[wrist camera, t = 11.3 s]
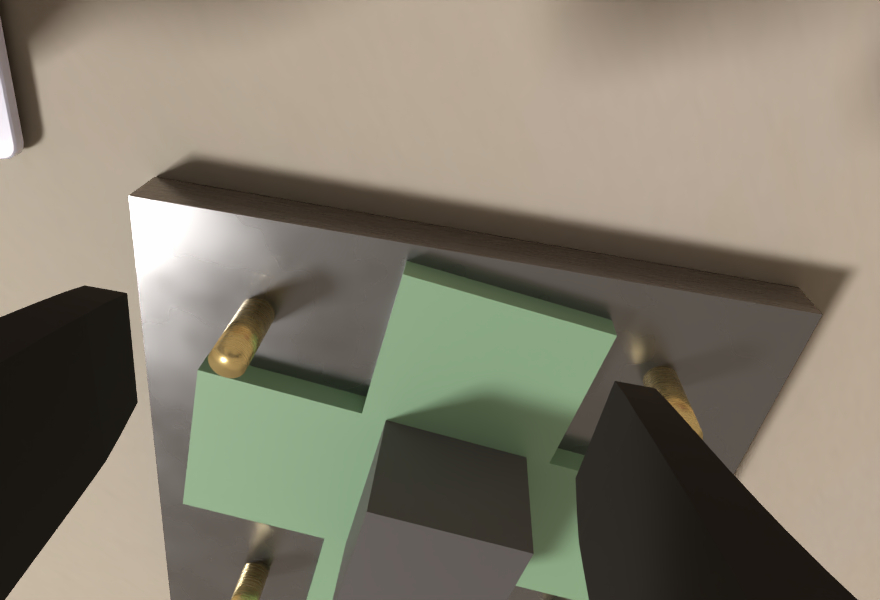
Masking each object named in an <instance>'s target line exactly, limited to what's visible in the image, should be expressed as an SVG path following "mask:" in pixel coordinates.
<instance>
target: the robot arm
mask: <svg viewBox="0 0 880 600" xmlns="http://www.w3.org/2000/svg"><path fill="white" fill-rule="evenodd" d="M23 145H24V141H23V136H22V130H21V125H20V120H19V114H18V109H17V104H16V98H15V93H14V88H13V82H12V77H11V72H10V66H9V61H8V56H7V50H6V45H5V39H4V34H3V29H2V23H1V18H0V159H9V158H12V157H14V156H16V155H18V154H19V153H21V151H22V150H23ZM136 404H137V391H136V381H135V370H134V360H133V350H132V339H131V329H130V319H129V308H128V298H127V293H123V292H118V291H112V290H107V289H101V288H95V287H90V286H82V287H79V288H76V289H72V290H69V291H66V292H64V293H61V294H58V295H55V296H53V297H50V298H48V299H45V300H42V301H40V302H37V303H35V304H32V305H30V306H27V307H25V308H22V309H20V310H17V311H15V312H12V313H10V314H7V315H5V316H2V317H0V600H5V599H6V597H7V596H8V595H9V593H10V592H11V591H12V589H13V588H14V587H15V585H16V584H17V582H18V581H19V580H20V578H21V577H22V576H23V574H24V573H25V572H26V570H27V569H28V568H29V566H30V565H31V563H32V562H33V561H34V559H35V558H36V557H37V555H38V554H39V553H40V551H41V550H42V548H43V547H44V546H45V544H46V543H47V542H48V540H49V539H50V538H51V536H52V535H53V534H54V532H55V531H56V529H57V528H58V527H59V525H60V524H61V523H62V521H63V520H64V519H65V517H66V516H67V514H68V513H69V512H70V510H71V509H72V508H73V506H74V505H75V503H76V502H77V501H78V499H79V498H80V497H81V495H82V494H83V492H84V491H85V490H86V488H87V487H88V485H89V484H90V483H91V481H92V480H93V479H94V477H95V476H96V474H97V473H98V471H99V470H100V469H101V467H102V466H103V464H104V463H105V462H106V460H107V458H108V456H109V454H110V453H111V451H112V449H113V447H114V446H115V444H116V442H117V440H118V439H119V437H120V435H121V433H122V431H123V429H124V427H125V425H126V424H127V422H128V420H129V418H130V416H131V414H132V412H133V410H134V408H135V406H136ZM575 480H576V505H577V523H578V538H579V546H580V552H581V558H582V564H583V570H584V575H585V581H586V587H587V592H588V598H589V600H857V599H856V598H855V597H854V596H853V595H852V594H851V593H850V592H849V591H848V590H847V589H846V588H844V587H843V586H842V585H841V584H840V583H839V582H838V581H837V580H836V579H835V578H834V577H833V576H832V575H831V574H830V573H829V572H827V571H826V570H825V569H824V568H823V567H822V566H821V565H820V564H819V563H818V562H817V561H816V560H815V559H814V558H813V557H812V556H811V555H810V554H809V553H808V552H807V551H806V550H805V549H804V548H803V547H802V546H801V545H800V544H799V543H798V542H797V541H796V540H795V539H794V538H793V537H792V536H791V535H790V534H789V533H788V532H787V531H786V530H785V529H784V528H783V527H782V526H781V525H780V524H779V523H778V522H777V520H776V519H775V518H774V517H773V516H772V515H771V514H770V513H769V512H768V511H767V510H766V509H765V508H764V507H763V506H762V505H761V504H760V503H759V502H758V501H757V499H756V498H755V497H754V496H753V495H752V494H751V493H750V492H749V491H748V490H747V489H746V488H745V487H744V485H743V484H742V483H741V482H740V481H739V480H738V479H737V478H736V477H735V476H734V474H733V473H732V472H731V471H730V470H729V469H728V468H727V467H726V466H725V464H724V463H723V462H722V461H721V460H720V459H719V458H718V457H717V456H716V454H715V453H714V452H713V451H712V450H711V449H710V448H709V447H708V445H707V444H706V443H705V442H704V441H703V440H702V439H701V438H700V436H699V435H698V434H697V433H696V432H695V431H694V430H693V429H692V427H691V426H690V425H689V424H688V423H687V422H686V421H685V420H684V418H683V417H682V416H681V415H680V414H679V413H678V412H677V411H676V410H675V408H674V407H673V406H672V405H671V404H670V403H669V402H668V401H667V400H666V399H665V398H664V397H663V396H662V395H661V394H660V393H659V392H658V391H657V390H656V389H655V388H652V387H646V386H641V385H635V384H630V383H624V382H618V381H614V384H613V386H612V389H611V391H610V394H609V396H608V399H607V401H606V404H605V406H604V409H603V411H602V414H601V416H600V419H599V421H598V424H597V426H596V429H595V431H594V434H593V436H592V438H591V441H590V443H589V446H588V448H587V451H586V453H585V456H584V458H583V461H582V463H581V466H580V468H579V471H578V473H577V476H576V478H575Z"/></svg>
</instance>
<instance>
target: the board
mask: <svg viewBox="0 0 880 600" xmlns="http://www.w3.org/2000/svg"><path fill="white" fill-rule="evenodd" d="M616 337H617V334H616V331H615V328H614V325H613V322H612V320H610V319H607V318H603V317H600V316H596V315H593V314H589V313H586V312H582V311H579V310H576V309H572V308H569V307H565V306H562V305H558V304H555V303H551V302H548V301H544V300H541V299H538V298H534V297H531V296H527V295H524V294H520V293H517V292H513V291H510V290H506V289H503V288H500V287H496V286H493V285H489V284H486V283H482V282H479V281H475V280H472V279H468V278H465V277H461V276H458V275H455V274H451V273H448V272H444V271H441V270H437V269H434V268H430V267H427V266H423V265H420V264H417V263H413V262H410V261H406V264H405V268H404V271H403V274H402V278H401V281H400V285H399V288H398V291H397V295H396V298H395V302H394V305H393V308H392V312H391V315H390V318H389V322H388V325H387V329H386V332H385V335H384V339H383V342H382V345H381V349H380V352H379V356H378V359H377V362H376V366H375V369H374V373H373V376H372V379H371V383H370V386H369V389H368V393H367V396H366V397H365V396H362V395H358V394H354V393H350V392H347V391H343V390H339V389H336V388H332V387H328V386H324V385H321V384H317V383H313V382H309V381H306V380H302V379H298V378H295V377H291V376H287V375H283V374H280V373H276V372H272V371H268V370H265V369H261V368H257V367H254V366H250V365H249V366H248V367H247V369H246V371H245V372H244V374H243V375H241V376H240V377H237V378H226V377H222V376H220V375H218V374H217V373H215V372H214V371H213V370H212V368H211V367H210V365H209V363H208V355H209V354H208V355H207V357H206V358H205V360H204V361H203V363H202V364H201V366H200V367H199V369H198V372H197V381H196V390H195V399H194V408H193V417H192V426H191V435H190V444H189V453H188V462H187V471H186V480H185V489H184V498H183V504H186V505H190V506H194V507H198V508H202V509H206V510H210V511H214V512H218V513H222V514H226V515H231V516H235V517H239V518H243V519H247V520H251V521H255V522H259V523H263V524H267V525H271V526H275V527H279V528H283V529H287V530H291V531H295V532H300V533H304V534H308V535H312V536H316V537H320V538H324V542H323V545H322V548H321V552H320V555H319V559H318V562H317V565H316V569H315V572H314V575H313V579H312V582H311V586H310V589H309V592H308V596H307V599H306V600H508V598H509V596H510V594H511V593H512V591H513V589H514V587H515V586H519V587H523V588H527V589H531V590H535V591H539V592H543V593H547V594H551V595H555V596H559V597H563V598H567V599H571V600H589V598H588V592H587V587H586V581H585V575H584V570H583V564H582V558H581V552H580V546H579V538H578V523H577V505H576V480H575V478H576V476H577V473H578V471H579V468H580V466H581V463H582V461H583V458H584V456H585V455H582V454H578V453H574V452H571V451H567V450H563V449H559V448H558V446H559V444H560V442H561V440H562V438H563V437H564V435H565V433H566V431H567V429H568V427H569V425H570V423H571V422H572V420H573V418H574V416H575V414H576V412H577V410H578V408H579V406H580V405H581V403H582V401H583V399H584V397H585V395H586V393H587V391H588V390H589V388H590V386H591V384H592V382H593V380H594V378H595V376H596V374H597V373H598V371H599V369H600V367H601V365H602V363H603V361H604V359H605V357H606V356H607V354H608V352H609V350H610V348H611V346H612V344H613V342H614V341H615V339H616Z"/></svg>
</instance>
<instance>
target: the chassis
mask: <svg viewBox="0 0 880 600" xmlns="http://www.w3.org/2000/svg"><path fill="white" fill-rule="evenodd" d="M129 206H130V215H131V225H132V234H133V244H134V253H135V263H136V273H137V282H138V292H139V301H140V311H141V320H142V330H143V340H144V349H145V359H146V368H147V378H148V387H149V397H150V406H151V416H152V426H153V435H154V445H155V454H156V464H157V473H158V483H159V493H160V502H161V512H162V521H163V531H164V540H165V550H166V560H167V569H168V579H169V588H170V598H171V600H306V599H307V596H308V592H309V589H310V586H311V582H312V579H313V575H314V572H315V569H316V565H317V562H318V559H319V555H320V552H321V548H322V545H323V542H324V538H320V537H316V536H312V535H308V534H304V533H300V532H295V531H291V530H287V529H283V528H279V527H275V526H271V525H267V524H263V523H259V522H255V521H251V520H247V519H243V518H239V517H235V516H231V515H226V514H222V513H218V512H214V511H210V510H206V509H202V508H198V507H194V506H190V505H186V504H183V498H184V489H185V480H186V471H187V462H188V453H189V444H190V435H191V426H192V417H193V408H194V399H195V390H196V381H197V372H198V369H199V367H200V366H201V364H202V363H203V361H204V360H205V358H206V357H207V355H208V354H209V355H208V363H209V365H210V367H211V368H212V370H213V371H214V372H215V373H217V374H218V375H220V376H222V377H226V378H237V377H240V376H241V375H243V374H244V372H245V371H246V369H247V367H248V366H249V365H250V366H254V367H257V368H261V369H265V370H268V371H272V372H276V373H280V374H283V375H287V376H291V377H295V378H298V379H302V380H306V381H309V382H313V383H317V384H321V385H324V386H328V387H332V388H336V389H339V390H343V391H347V392H350V393H354V394H358V395H362V396H365V397H366V396H367V393H368V389H369V386H370V383H371V379H372V376H373V373H374V369H375V366H376V362H377V359H378V356H379V352H380V349H381V345H382V342H383V339H384V335H385V332H386V329H387V325H388V322H389V318H390V315H391V312H392V308H393V305H394V302H395V298H396V295H397V291H398V288H399V285H400V281H401V278H402V274H403V271H404V268H405V264H406V261H410V262H413V263H417V264H420V265H423V266H427V267H430V268H434V269H437V270H441V271H444V272H448V273H451V274H455V275H458V276H461V277H465V278H468V279H472V280H475V281H479V282H482V283H486V284H489V285H493V286H496V287H500V288H503V289H506V290H510V291H513V292H517V293H520V294H524V295H527V296H531V297H534V298H538V299H541V300H544V301H548V302H551V303H555V304H558V305H562V306H565V307H569V308H572V309H576V310H579V311H582V312H586V313H589V314H593V315H596V316H600V317H603V318H607V319H610V320H612V322H613V325H614V328H615V331H616V334H617V337H616V339H615V341H614V342H613V344H612V346H611V348H610V350H609V352H608V354H607V356H606V357H605V359H604V361H603V363H602V365H601V367H600V369H599V371H598V373H597V374H596V376H595V378H594V380H593V382H592V384H591V386H590V388H589V390H588V391H587V393H586V395H585V397H584V399H583V401H582V403H581V405H580V406H579V408H578V410H577V412H576V414H575V416H574V418H573V420H572V422H571V423H570V425H569V427H568V429H567V431H566V433H565V435H564V437H563V438H562V440H561V442H560V444H559V446H558V448H559V449H563V450H567V451H571V452H574V453H578V454H582V455H585V453H586V451H587V448H588V446H589V443H590V441H591V438H592V436H593V434H594V431H595V429H596V426H597V424H598V421H599V419H600V416H601V414H602V411H603V409H604V406H605V404H606V401H607V399H608V396H609V394H610V391H611V389H612V386H613V384H614V381H618V382H624V383H630V384H635V385H641V386H646V387H652V388H655V389H656V390H657V391H658V392H659V393H660V394H661V395H662V396H663V397H664V398H665V399H666V400H667V401H668V402H669V403H670V404H671V405H672V406H673V407H674V408H675V410H676V411H677V412H678V413H679V414H680V415H681V416H682V417H683V418H684V420H685V421H686V422H687V423H688V424H689V425H690V426H691V427H692V429H693V430H694V431H695V432H696V433H697V434H698V435H699V436H700V438H701V439H702V440H703V441H704V442H705V443H706V444H707V445H708V447H709V448H710V449H711V450H712V451H713V452H714V453H715V454H716V456H717V457H718V458H719V459H720V460H721V461H722V462H723V463H724V464H725V466H726V467H727V468H728V469H729V470H730V471H731V472H732V473H733V474H734V473H735V471H736V469H737V467H738V466H739V464H740V462H741V460H742V458H743V457H744V455H745V453H746V451H747V449H748V448H749V446H750V444H751V442H752V440H753V439H754V437H755V435H756V433H757V431H758V430H759V428H760V426H761V424H762V422H763V421H764V419H765V417H766V415H767V413H768V412H769V410H770V408H771V406H772V404H773V403H774V401H775V399H776V397H777V395H778V394H779V392H780V390H781V388H782V386H783V385H784V383H785V381H786V379H787V377H788V376H789V374H790V372H791V370H792V368H793V367H794V365H795V363H796V361H797V359H798V358H799V356H800V354H801V352H802V350H803V349H804V347H805V345H806V343H807V341H808V340H809V338H810V336H811V334H812V332H813V331H814V329H815V327H816V325H817V323H818V322H819V320H820V318H821V316H822V313H821V312H820V311H819V310H818V309H817V308H816V307H815V306H814V304H813V303H812V302H811V301H810V300H809V299H808V298H807V297H806V295H805V294H804V293H803V292H802V291H801V290H800V289H799V288H797V287H791V286H785V285H779V284H773V283H768V282H762V281H756V280H750V279H744V278H738V277H733V276H727V275H721V274H715V273H709V272H704V271H698V270H692V269H686V268H680V267H675V266H669V265H663V264H657V263H651V262H645V261H640V260H634V259H628V258H622V257H616V256H611V255H605V254H599V253H593V252H587V251H581V250H576V249H570V248H564V247H558V246H552V245H547V244H541V243H535V242H529V241H523V240H517V239H512V238H506V237H500V236H494V235H488V234H483V233H477V232H471V231H465V230H459V229H453V228H448V227H442V226H436V225H430V224H424V223H419V222H413V221H407V220H401V219H395V218H389V217H384V216H378V215H372V214H366V213H360V212H355V211H349V210H343V209H337V208H331V207H326V206H320V205H314V204H308V203H302V202H296V201H291V200H285V199H279V198H273V197H267V196H262V195H256V194H250V193H244V192H238V191H232V190H227V189H221V188H215V187H209V186H203V185H198V184H192V183H186V182H180V181H174V180H168V179H163V178H157V177H154V178H152V179H151V180H150V181H148V182H147V183H146V184H144V185H143V186H141V187H140V188H139V189H137V190H136V191H134V192H133V193H132V194H130V195H129ZM508 600H571V599H567V598H563V597H559V596H555V595H551V594H547V593H543V592H539V591H535V590H531V589H527V588H523V587H519V586H515V587H514V589H513V591H512V593H511V594H510V596H509V598H508Z"/></svg>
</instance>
